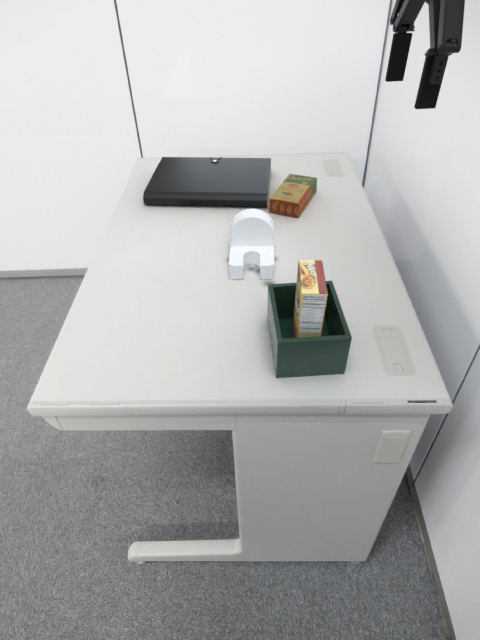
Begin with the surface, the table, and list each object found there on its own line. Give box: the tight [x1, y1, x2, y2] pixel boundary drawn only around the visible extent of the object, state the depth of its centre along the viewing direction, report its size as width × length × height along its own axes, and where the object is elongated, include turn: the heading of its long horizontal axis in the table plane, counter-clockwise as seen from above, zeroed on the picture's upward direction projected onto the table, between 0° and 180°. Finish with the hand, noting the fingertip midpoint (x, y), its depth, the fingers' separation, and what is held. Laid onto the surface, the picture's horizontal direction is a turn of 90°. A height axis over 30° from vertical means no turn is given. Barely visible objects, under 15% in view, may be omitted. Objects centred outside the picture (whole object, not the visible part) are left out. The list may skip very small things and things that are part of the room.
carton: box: [268, 173, 318, 218], centre depth 117 cm, size 8×16×4 cm, turn 156°
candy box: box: [293, 259, 328, 338], centre depth 73 cm, size 9×4×15 cm, turn 178°
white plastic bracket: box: [228, 208, 275, 280], centre depth 97 cm, size 10×18×11 cm, turn 178°
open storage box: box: [266, 280, 353, 379], centre depth 76 cm, size 15×12×9 cm
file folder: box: [142, 156, 272, 208], centre depth 124 cm, size 33×4×24 cm
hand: (408, 93), depth 66 cm, fingers open, 13 cm apart
